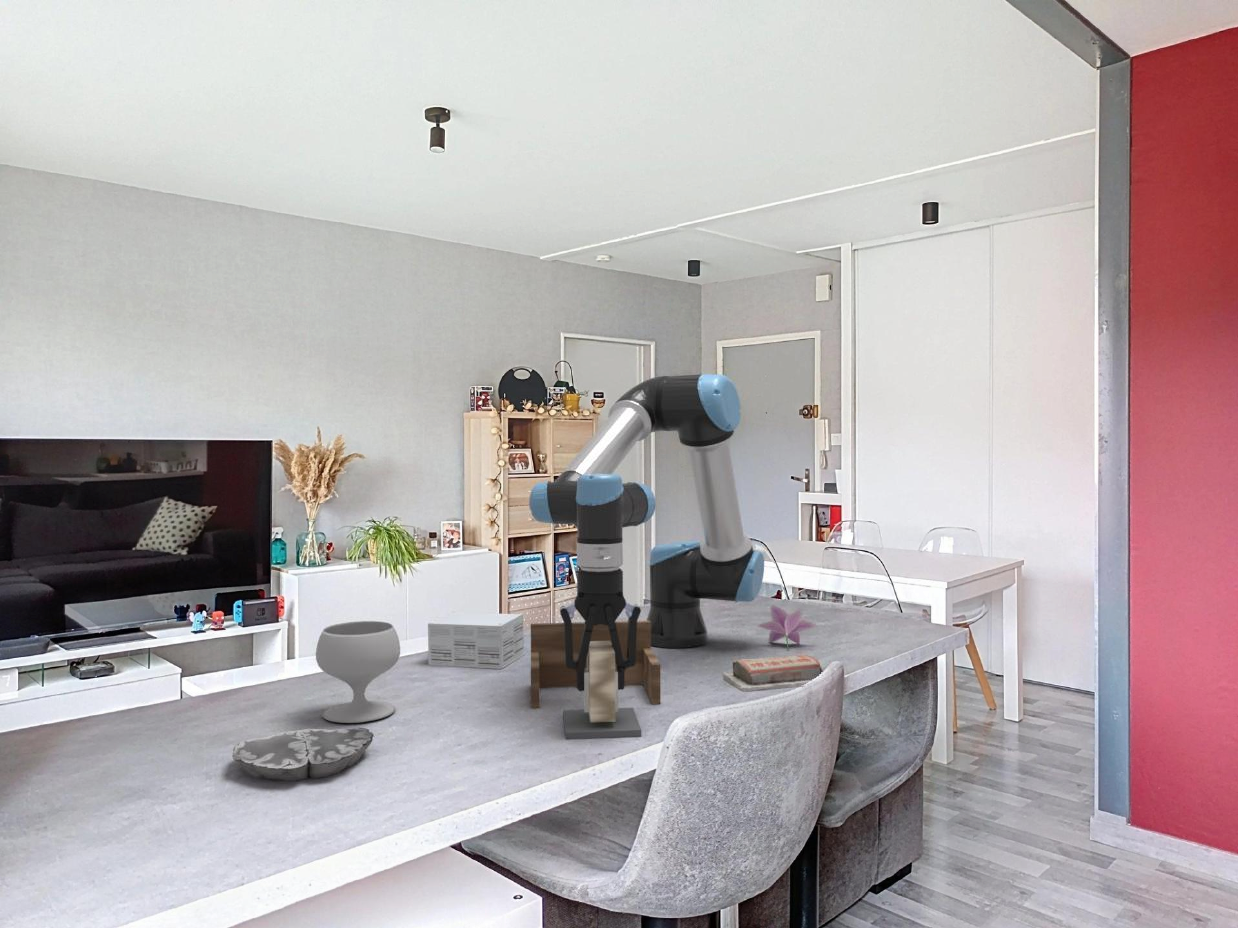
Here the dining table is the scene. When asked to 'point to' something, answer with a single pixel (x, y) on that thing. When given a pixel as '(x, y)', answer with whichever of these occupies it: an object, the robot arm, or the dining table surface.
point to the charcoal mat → (600, 725)
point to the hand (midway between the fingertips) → (600, 709)
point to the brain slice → (302, 753)
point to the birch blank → (601, 681)
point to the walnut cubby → (552, 660)
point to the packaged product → (773, 672)
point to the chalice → (358, 665)
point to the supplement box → (475, 640)
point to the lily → (786, 625)
